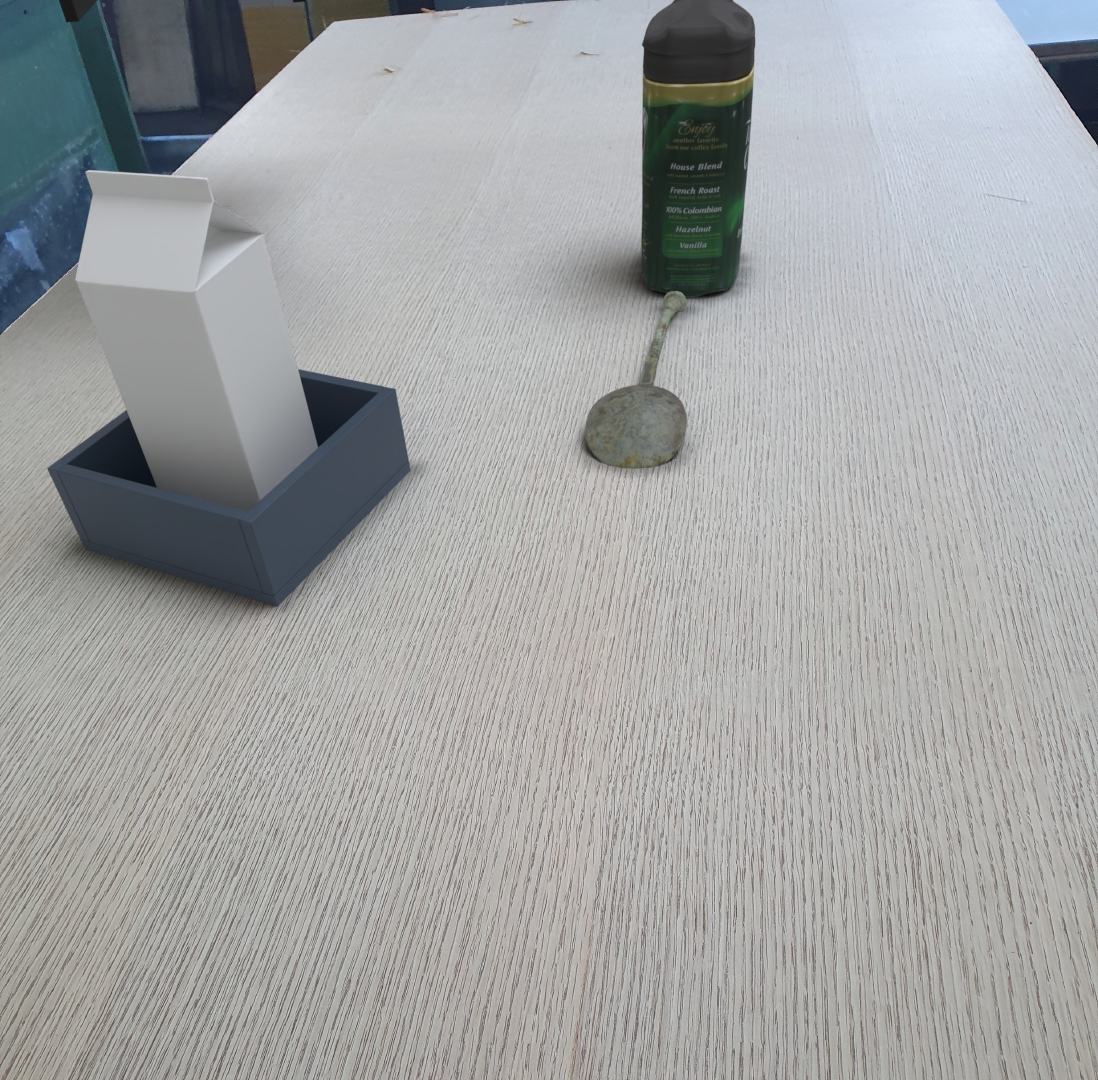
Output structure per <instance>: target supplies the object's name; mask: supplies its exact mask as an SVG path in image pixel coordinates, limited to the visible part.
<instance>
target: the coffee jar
mask: <svg viewBox="0 0 1098 1080" xmlns="http://www.w3.org/2000/svg"><path fill="white" fill-rule="evenodd" d="M641 47H643V56H642V57H643V59H642V114H641V115H642V120H641V121H642V122H641V123H642V126H641V127H642V129H641V131H642V132H641V134H642V136H641V149H642V150H641V152H642V153H641V199H642V200H641V235H640V239H641V241H640V242H641V243H640V244H641V245H640V247H641V248H640V249H641V251H640V253H641V254H640V259H641V261H640V263H641V265H640V267H641V268H640V269H641V272H640V273H641V278H642V282H643V284H644V285H645V286H646V287H647V289H649V290H651V291H656V292H660V293H663V294H667V293H669V292H671V291H678V292H681V293H682V294H683V295H684V296H685V298H694V297H702V296H705V295H708V294H709V295H710V294H714V293H718V292H724V291H727V290H728V289H729V288H731V287H732V286H733V284H734V283H735V282H736V280H737V277H738V273H739V270H740V263H741V262H740V261H741V250H742V243H743V242H742V240H743V229H744V228H743V226H744V214H745V213H744V212H745V201H746V190H747V179H748V169H749V156H750V145H751V143H750V142H751V130H752V129H751V127H752V115H753V99H754V97H753V96H754V76H755V75H754V74H755V63H756V62H755V60H756V59H755V57H756V56H755V51H756V50H755V49H756V24H755V20H754V17H753V15H752V14H751V12H749V11H747V9H745V8H744V7H742V6H741V5H740V4H738V3H737V2H735V1H734V0H673V1H672V2H671V3H670V4H669V5H667V6H665V7H663V8H662V9H661V10H659V11H658V12H657V13H655V15H653V16H652V17H651V20H650V21H649V22H648V25H647V26H646V30H645V33H644V36H643V40H642V43H641Z"/></svg>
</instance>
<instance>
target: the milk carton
mask: <svg viewBox="0 0 1098 1080" xmlns="http://www.w3.org/2000/svg"><path fill="white" fill-rule="evenodd" d="M85 176H86V178H87V181H88V184H89V187H90V189H91V192H92V197H91V201H90V207H89V211H88V216H87V220H86V226H85V230H84V234H83V240H82V245H81V250H80V254H79V260H78V264H77V269H76V274H75V277H74V278H75V282H76V285H77V287H78V290H79V292H80V295H81V297H82V300H83V302H84V305H85V309H86V310H87V313H88V315H89V319H90V321H91V323H92V325H93V328H94V331H95V333H96V336H97V339H98V341H99V343H100V345H101V348H102V351H103V354H104V357H105V359H106V361H107V364H108V366H109V369H110V371H111V374H112V377H113V379H114V381H115V384H116V386H117V389H118V392H119V395H120V398H121V400H122V401H123V402H122V403H123V405H124V407H125V411H126V410H127V412H128V415H129V417H130V420H131V422H132V425H133V428H134V430H135V433H136V435H137V438H138V440H139V443H140V445H141V448H142V450H143V453H144V456H145V458H146V461H147V463H148V466H149V468H150V471H151V473H152V476H153V479H154V481H155V484H156V486H157V488H159V489H163V490H167V491H170V492H174V493H178V494H182V495H185V496H189V497H193V498H197V499H201V500H204V501H208V502H212V503H216V504H220V505H223V506H227V507H231V508H235V509H238V510H242V511H246V512H248V511H249V510H250V509H251V508H253V507H254V506H255V505H256V504H257V503H258V502H259V501H260V500H261V499H262V498H264V497H265V496H266V495H267V494H268V493H269V492H270V491H271V490H272V489H273V488H275V487H276V486H277V485H278V484H279V483H280V482H281V481H282V480H283V479H284V478H286V477H287V476H288V475H289V474H290V473H291V472H292V471H293V470H294V469H295V468H296V467H298V466H299V465H300V464H301V463H302V462H303V461H304V460H305V459H306V458H307V457H309V456H310V455H311V454H312V453H313V452H314V451H315V450H316V449H317V448H318V446H317V442H316V438H315V434H314V430H313V426H312V422H311V418H310V414H309V410H308V406H307V402H306V398H305V394H304V391H303V387H302V383H301V379H300V375H299V371H298V369H299V367H298V364H297V361H296V360H297V359H296V356H295V352H294V348H293V344H292V340H291V336H290V332H289V328H288V325H287V321H286V316H285V314H284V313H285V312H284V309H283V305H282V300H281V297H280V293H279V288H278V284H277V281H276V277H275V273H274V270H273V265H272V262H271V257H270V254H269V253H270V252H269V250H268V246H267V242H266V238H265V235H264V232H263V231H261V230H260V229H258V228H257V227H255V226H253V225H252V224H250V223H249V222H248V221H246V220H244V219H243V218H241V217H240V216H239V215H237V214H235V213H234V212H232V211H231V210H229V209H228V208H226V207H225V206H223V205H222V204H220V203H219V202H217V201H216V200H215V197H214V195H213V190H212V188H211V184H210V181H209V178H208V177H202V176H189V175H188V176H186V175H173V174H172V175H171V174H157V173H156V174H155V173H141V172H140V173H139V172H138V173H137V172H125V171H109V170H107V171H106V170H94V169H93V170H91V169H88V170H86V171H85Z"/></svg>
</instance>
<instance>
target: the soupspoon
mask: <svg viewBox="0 0 1098 1080" xmlns="http://www.w3.org/2000/svg"><path fill="white" fill-rule="evenodd" d="M662 304H663V309H662V310H661V314H662V315H661V317H660V320H659V322H658V324H657V325H656V326H657V327H656V329H655V332H654V335H653V337H652V341H651V344H650V347H649V351H648V352H647V353H648V354H647V357H646V359H645V362H644V365H643V369H642V371H641V375H640V378H639V382H638V384H633V385H627V386H623V387H619V388H617V389H614V390H612V391H610V392H608V393H606V394H605V395H603V396H601V397H600V398H599V399H598V400H597V401H595V402H594V404H593V405H592V406H591V408H590V410H589V412H588V414H587V416H586V420H585V421H586V422H585V428H584V429H585V430H584V437H585V438H584V439H585V442H586V445H587V447H588V448H589V451H591V452H592V454H593V457H596V459H597V460H598V461H600V462H601V463H602V464H604V465H607V466H609V467H613V468H619V469H630V470H631V469H635V470H636V469H637V470H639V469H650V468H651V469H652V468H655V467H661V466H663V465H665V464H667V463H668V462H669V461H670V460H671V459H673V457H674V456H675V455H676V454H677V452H678V451H679V449H680V447H681V446H682V444H683V441H684V439H685V436H686V433H687V427H688V416H687V411H686V408H685V405H684V404H683V401H682V400H681V399H680V397H678V396H677V395H676V394H675V393H673V392H672V391H671V390H669V389H666V388H664V387H660V386H657V385H655V384H654V383H655V377H656V373H657V368H658V365H659V359H660V356H661V351H662V349H663V344H664V339H665V336H666V332H667V329H668V327H669V323H670V320H671V319H672V318H674V316H675V314H676V313H682V312H683V311H684V310H685V308H686V306H687V297H685V296H684V295H683V294H682V293H681V292H678V291H671V292H669V293H665V295H664V297H663V299H662Z"/></svg>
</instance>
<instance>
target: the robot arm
mask: <svg viewBox="0 0 1098 1080" xmlns="http://www.w3.org/2000/svg"><path fill="white" fill-rule="evenodd" d="M306 1H307V0H292V3H293V4H295V3H304V2H306ZM58 2H59V5H60V8H61V11H62V14H63V17H64V20H65V23H77V22H78V23H79V22H80V21H81V19H83V17H84V16H85V15H86V14H87V13H88V12H89V11H90V10H91V8H92V7H93V6H95V5H96V3H97V2H98V0H58Z"/></svg>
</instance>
